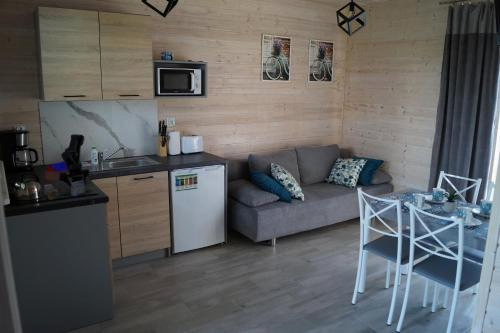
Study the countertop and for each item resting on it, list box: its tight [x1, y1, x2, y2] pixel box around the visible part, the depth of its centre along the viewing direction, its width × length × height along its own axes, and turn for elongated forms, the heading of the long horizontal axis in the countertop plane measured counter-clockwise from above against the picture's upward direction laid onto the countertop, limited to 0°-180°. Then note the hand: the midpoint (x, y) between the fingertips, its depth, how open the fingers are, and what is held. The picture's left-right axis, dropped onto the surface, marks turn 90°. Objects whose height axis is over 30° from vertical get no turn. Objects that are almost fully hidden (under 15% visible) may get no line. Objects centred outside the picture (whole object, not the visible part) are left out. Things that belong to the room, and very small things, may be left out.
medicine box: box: [70, 180, 86, 197], centre depth 270 cm, size 8×4×9 cm, turn 156°
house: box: [44, 161, 69, 181], centre depth 320 cm, size 12×20×12 cm, turn 169°
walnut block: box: [47, 188, 60, 201], centre depth 262 cm, size 5×5×5 cm
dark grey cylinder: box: [44, 186, 55, 198], centre depth 267 cm, size 5×5×6 cm
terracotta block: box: [44, 183, 53, 195], centre depth 272 cm, size 4×4×6 cm
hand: (78, 185), depth 269 cm, fingers closed on medicine box, 9 cm apart
